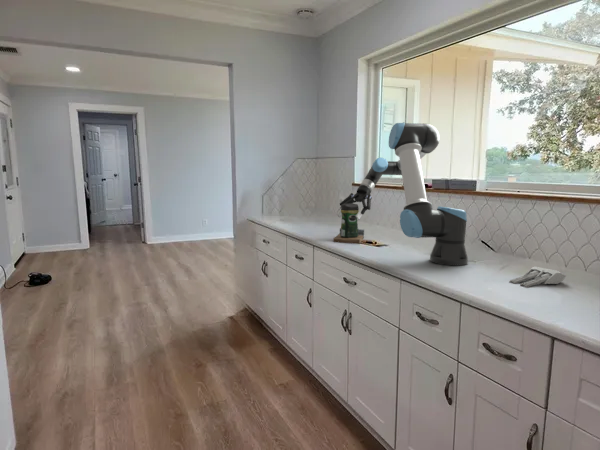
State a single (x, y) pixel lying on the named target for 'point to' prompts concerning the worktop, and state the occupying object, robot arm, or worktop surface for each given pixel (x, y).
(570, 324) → the worktop surface
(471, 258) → the worktop surface
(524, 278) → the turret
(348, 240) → the brown piece
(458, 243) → the robot arm
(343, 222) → the coffee jar
